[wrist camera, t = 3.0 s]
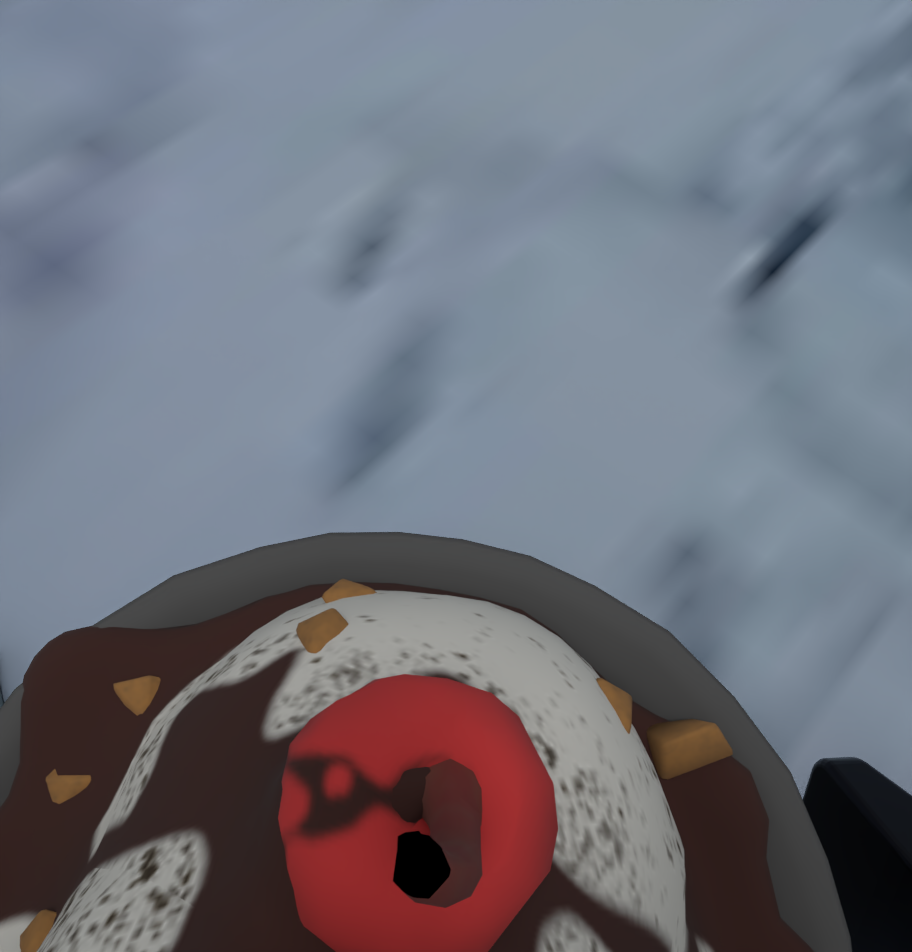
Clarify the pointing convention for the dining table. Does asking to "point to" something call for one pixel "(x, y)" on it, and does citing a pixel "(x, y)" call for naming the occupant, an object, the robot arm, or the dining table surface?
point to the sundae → (394, 770)
